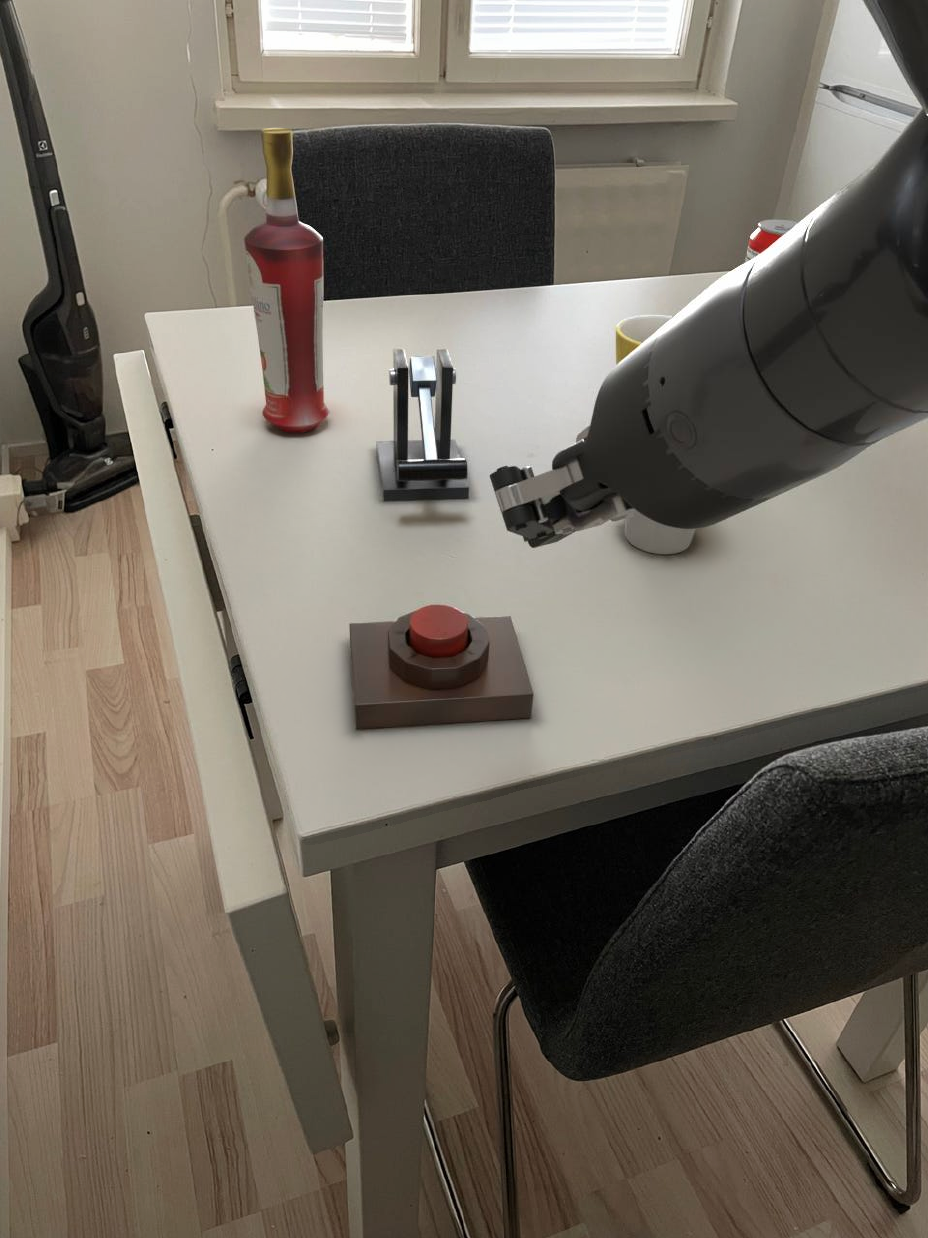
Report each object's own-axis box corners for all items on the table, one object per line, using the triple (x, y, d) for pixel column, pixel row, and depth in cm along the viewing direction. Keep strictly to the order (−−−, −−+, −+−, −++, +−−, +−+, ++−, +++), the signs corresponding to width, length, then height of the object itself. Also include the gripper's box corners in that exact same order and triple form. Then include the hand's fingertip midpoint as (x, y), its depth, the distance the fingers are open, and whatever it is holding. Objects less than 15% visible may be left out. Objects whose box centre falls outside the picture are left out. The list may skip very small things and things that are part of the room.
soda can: (715, 341, 126) (740, 222, 117) (751, 330, 130) (777, 214, 121) (765, 360, 121) (794, 237, 112) (800, 347, 126) (831, 228, 117)
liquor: (252, 415, 102) (223, 124, 86) (316, 404, 105) (301, 121, 88) (274, 443, 97) (249, 140, 80) (341, 431, 100) (330, 136, 83)
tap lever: (465, 485, 84) (468, 470, 82) (397, 487, 84) (398, 472, 81) (452, 372, 89) (454, 355, 87) (388, 372, 88) (389, 356, 86)
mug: (636, 396, 111) (650, 306, 104) (714, 424, 105) (734, 330, 99) (566, 432, 102) (577, 336, 96) (647, 464, 97) (665, 365, 91)
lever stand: (468, 498, 90) (474, 378, 83) (383, 501, 89) (382, 380, 82) (454, 449, 98) (459, 337, 91) (376, 451, 97) (375, 337, 90)
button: (412, 661, 64) (412, 640, 63) (407, 625, 68) (407, 605, 67) (470, 657, 65) (472, 637, 64) (463, 622, 68) (464, 602, 67)
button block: (355, 729, 64) (354, 684, 62) (350, 646, 71) (348, 603, 69) (531, 718, 66) (536, 673, 63) (508, 638, 73) (512, 595, 70)
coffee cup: (592, 523, 87) (615, 364, 78) (669, 506, 90) (699, 352, 81) (644, 570, 81) (674, 405, 72) (724, 551, 84) (763, 390, 75)
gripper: (842, 278, 37) (615, 438, 53) (554, 322, 32) (398, 484, 48) (907, 460, 37) (658, 566, 52) (625, 535, 31) (444, 627, 47)
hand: (535, 527), depth 50 cm, fingers closed
